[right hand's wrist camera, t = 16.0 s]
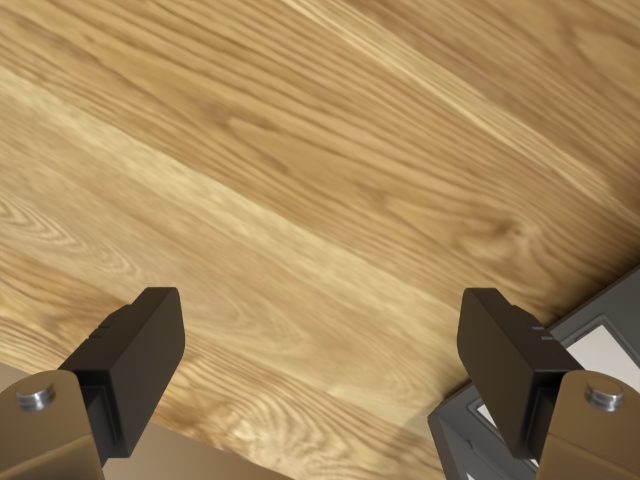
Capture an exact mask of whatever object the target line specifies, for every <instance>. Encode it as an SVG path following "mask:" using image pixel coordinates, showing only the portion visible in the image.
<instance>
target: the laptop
mask: <svg viewBox="0 0 640 480" xmlns="http://www.w3.org/2000/svg"><path fill="white" fill-rule="evenodd" d="M546 330H548V331H549V332H550V333H551V334H552V335H553V336H554V339H555V340H558V342H559V343H560V344H561V345H562V346H563V347H564V348H565V349H566V350H567V351H568V352H569V353H570V354H571V355H572V356H573V357H574V358H575V359H576V360H577V361H578V362H579V363H580V364H581V365H582V366H583V367H584V368H585V369H586V370H590V371H595V372H600V373H603V374H606V375H609V376H612V377H614V378H616V379H619V380H621V381H622V382H624V383H626V384H628V385H629V386H631V387H632V388H634V389H635V390H636V391H637V392H639V393H640V264H638V265H637V266H636V267H634V268H633V269H631V270H630V271H628V272H627V273H626V274H624V275H623V276H621V277H620V278H618V279H617V280H616V281H614V282H613V283H611V284H610V285H608V286H607V287H606V288H604V289H603V290H601V291H600V292H598V293H597V294H596V295H594V296H593V297H591V298H590V299H588V300H587V301H586V302H584V303H583V304H581V305H580V306H578V307H577V308H576V309H574V310H573V311H571V312H570V313H568V314H567V315H566V316H564V317H563V318H561V319H560V320H558V321H557V322H556V323H554V324H553V325H551V326H550V327H548V328H547V329H546ZM427 418H428V424H429V427H430V430H431V433H432V436H433V439H434V442H435V445H436V448H437V452H438V455H439V458H440V461H441V464H442V467H443V470H444V473H445V476H446V479H447V480H535V478H536V474H537V470H538V467H539V466H538V464H537V462H536V460H514V459H513V457H512V455H511V453H510V451H509V450H508V448H507V446H506V444H505V442H504V440H503V438H502V436H501V434H500V433H499V431H498V429H497V427H496V425H495V423H494V421H493V419H492V418H491V416H490V414H489V412H488V410H487V408H486V406H485V404H484V403H483V401H482V399H481V397H480V395H479V393H478V391H477V389H476V387H475V386H474V384H473V382H472V381H471V382H470V383H469V384H467V385H466V386H464V387H463V388H461V389H460V390H459V391H457V392H456V393H454V394H453V395H451V396H450V397H449V398H447V399H446V400H444V401H443V402H441V403H440V404H439V405H438V406H437V407H436V409H435V410H434V411H433V412H432V413H431V414H430V415H429V416H428V417H427Z"/></svg>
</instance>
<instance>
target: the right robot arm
mask: <svg viewBox="0 0 640 480" xmlns="http://www.w3.org/2000/svg"><path fill="white" fill-rule="evenodd" d="M184 348H185V332H184V325H183V317H182V310H181V303H180V296H179V292H178V290H177V288H175V287H147V288H146V289H145V290H144V291H143V292H142V293H141V294H140V295H139V296H138V297H137V299H136V300H135V301H134V302H133V303H132V304H131V305H125V306H123V307H122V308H120V309H118V310H116V311H115V312H113V313H111V314H110V315H109V316H108V317H107V318H106V319H105V320H104V321H103V322H102V323H101V324H100V325H99V326H98V329H95V330H94V331H93V332H92V333H91V334H90V335H89V339H86V340H85V341H84V342H83V343H82V344H81V345H80V346H79V347H78V348H77V349H76V350H75V351H74V352H73V353H72V354H71V355H70V356H69V357H68V358H67V359H66V360H65V361H64V363H63V364H62V365H61V366H60V367H59V368H58V369H57V370H50V371H45V372H40V373H37V374H34V375H31V376H28V377H26V378H24V379H22V380H19V381H18V382H16V383H14V384H12V385H11V386H9V387H8V388H6V389H5V390H4V391H3V392H1V393H0V480H105V478H104V474H103V470H102V468H103V466H104V465H105V463H106V461H107V460H108V458H130V456H131V454H132V452H133V450H134V448H135V446H136V444H137V442H138V440H139V439H140V437H141V435H142V433H143V431H144V429H145V427H146V425H147V423H148V422H149V420H150V418H151V416H152V414H153V412H154V410H155V408H156V406H157V404H158V402H159V401H160V399H161V397H162V395H163V393H164V391H165V389H166V387H167V385H168V383H169V382H170V380H171V378H172V376H173V374H174V372H175V370H176V368H177V366H178V364H179V362H180V361H181V359H182V356H183V353H184ZM457 348H458V353H459V357H460V359H461V361H462V363H463V365H464V367H465V369H466V371H467V372H468V374H469V376H470V378H471V380H472V382H473V384H474V386H475V387H476V389H477V391H478V393H479V395H480V397H481V399H482V401H483V403H484V404H485V406H486V408H487V410H488V412H489V414H490V416H491V418H492V419H493V421H494V423H495V425H496V427H497V429H498V431H499V433H500V434H501V436H502V438H503V440H504V442H505V444H506V446H507V448H508V450H509V451H510V453H511V455H512V457H513V459H514V460H536V462H537V464H538V466H539V467H538V470H537V474H536V478H535V480H640V393H639V392H637V391H636V390H635V389H634V388H632V387H631V386H629V385H628V384H626V383H624V382H622V381H621V380H619V379H616V378H614V377H612V376H609V375H606V374H603V373H600V372H595V371H590V370H586V369H585V368H584V367H583V366H582V365H581V364H580V363H579V362H578V361H577V360H576V359H575V358H574V357H573V356H572V355H571V354H570V353H569V352H568V351H567V350H566V349H565V348H564V347H563V346H562V345H561V344H560V343H559V342H558V340H555V339H554V336H553V335H552V334H551V333H550V332H549V331H548V330H545V327H544V326H543V325H542V324H541V323H540V322H539V321H538V320H537V319H536V318H535V317H534V316H533V315H532V314H530V313H528V312H527V311H525V310H523V309H521V308H520V307H518V306H516V305H511V304H510V303H509V302H508V301H507V300H506V299H505V298H504V296H503V295H502V294H501V293H500V292H499V291H498V290H497V289H496V288H466V289H465V291H464V293H463V298H462V305H461V312H460V319H459V326H458V333H457Z"/></svg>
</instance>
